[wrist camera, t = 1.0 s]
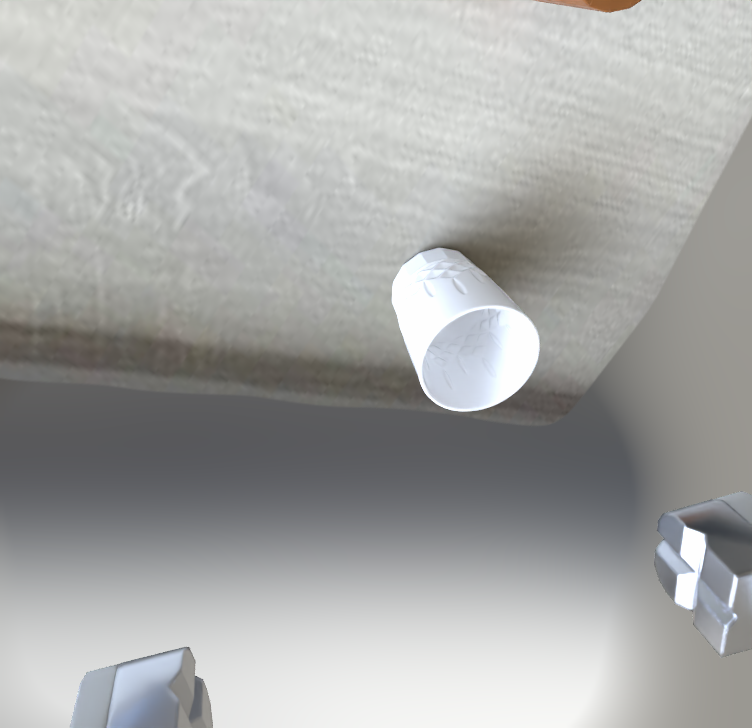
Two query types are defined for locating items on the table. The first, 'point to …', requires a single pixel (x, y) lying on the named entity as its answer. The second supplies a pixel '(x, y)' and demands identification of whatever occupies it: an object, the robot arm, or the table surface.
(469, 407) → the white cup
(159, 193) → the table surface
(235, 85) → the table surface
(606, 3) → the jar
